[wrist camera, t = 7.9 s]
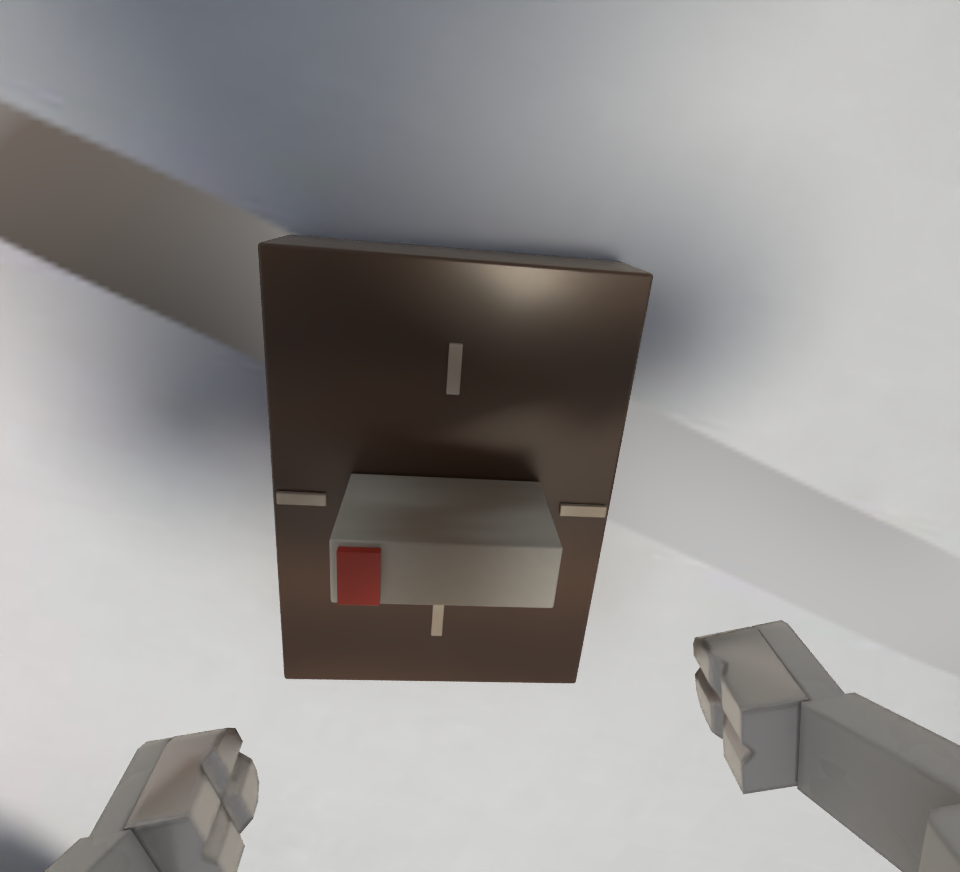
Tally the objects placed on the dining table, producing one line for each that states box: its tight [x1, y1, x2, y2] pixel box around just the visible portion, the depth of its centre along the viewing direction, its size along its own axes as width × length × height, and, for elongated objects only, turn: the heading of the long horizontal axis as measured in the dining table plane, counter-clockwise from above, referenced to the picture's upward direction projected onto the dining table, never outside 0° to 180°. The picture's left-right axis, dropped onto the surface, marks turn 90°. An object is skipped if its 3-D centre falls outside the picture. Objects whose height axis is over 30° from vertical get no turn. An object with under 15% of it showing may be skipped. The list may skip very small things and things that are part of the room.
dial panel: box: [258, 235, 653, 683], centre depth 18 cm, size 14×10×3 cm
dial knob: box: [329, 474, 563, 608], centre depth 15 cm, size 6×2×4 cm, turn 85°
